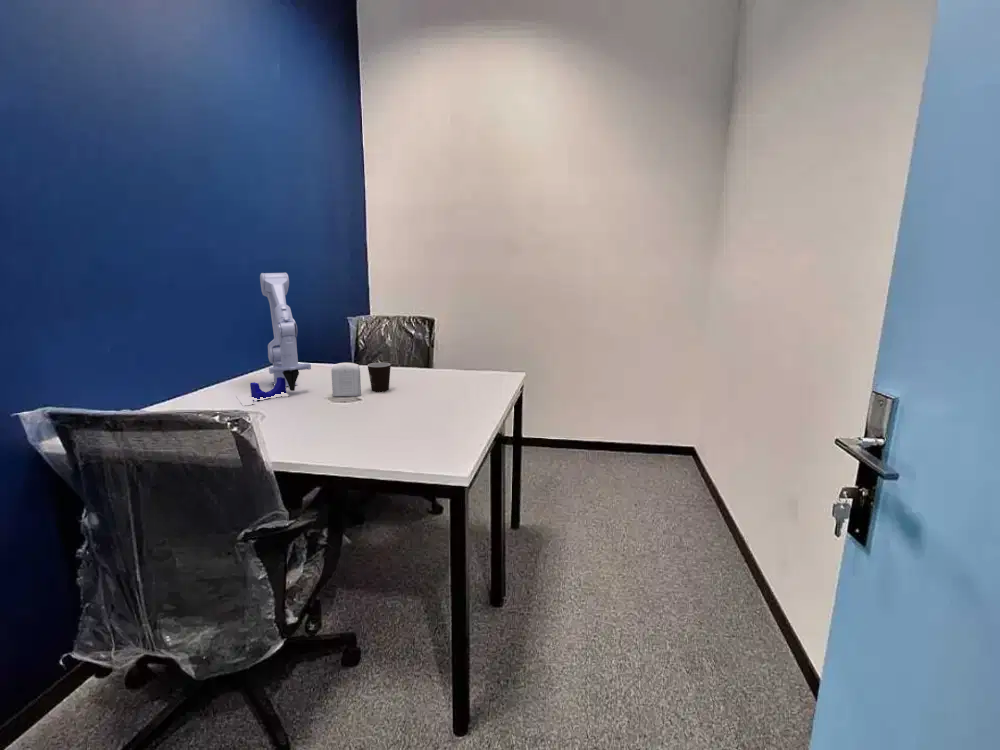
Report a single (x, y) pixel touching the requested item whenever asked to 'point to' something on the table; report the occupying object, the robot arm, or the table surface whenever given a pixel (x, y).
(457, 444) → the table surface
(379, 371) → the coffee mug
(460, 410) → the table surface
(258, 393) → the cable clip
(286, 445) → the table surface
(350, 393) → the photo printer
